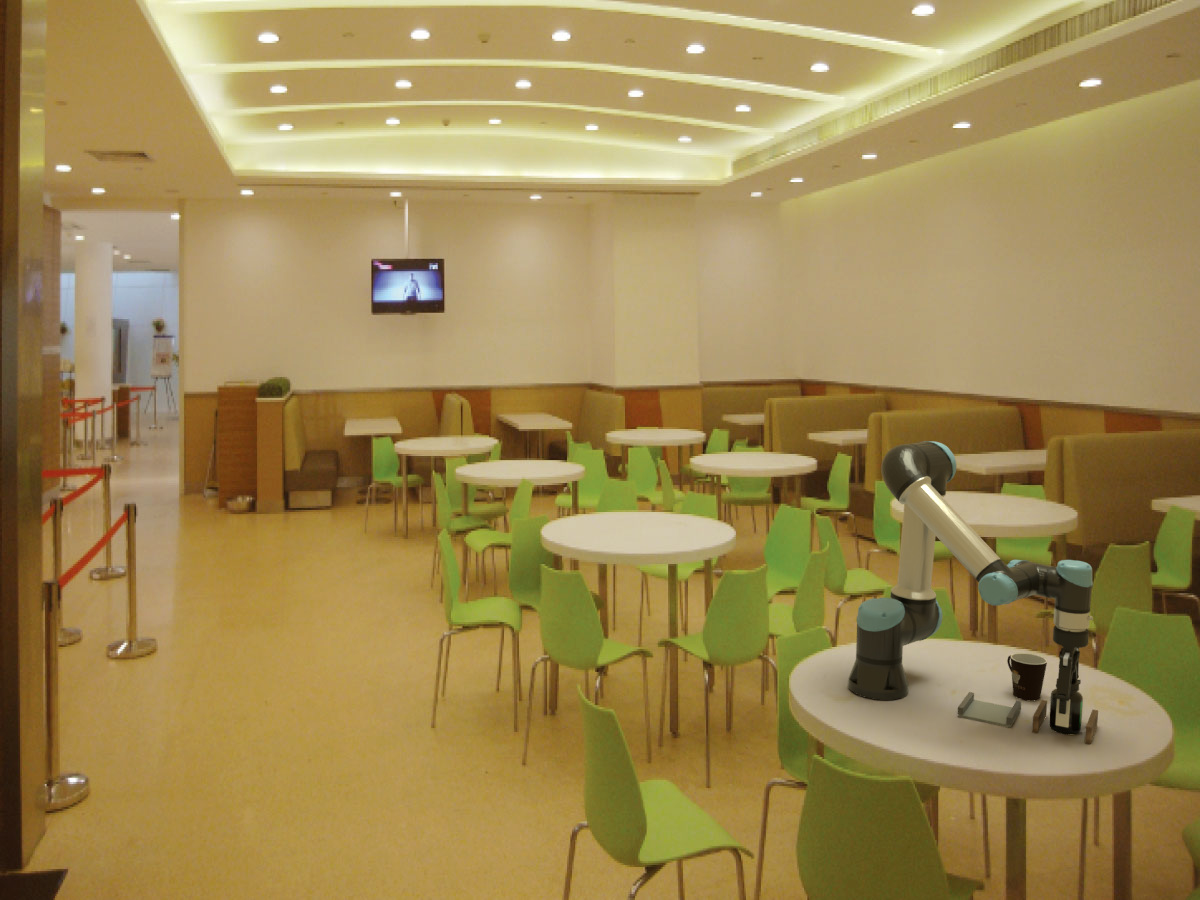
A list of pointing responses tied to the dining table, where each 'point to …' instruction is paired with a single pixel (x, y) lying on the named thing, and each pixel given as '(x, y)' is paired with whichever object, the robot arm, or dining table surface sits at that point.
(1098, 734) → the dining table surface
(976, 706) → the slate pad
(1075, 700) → the supplement bottle
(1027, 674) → the coffee mug
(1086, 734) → the walnut cradle
